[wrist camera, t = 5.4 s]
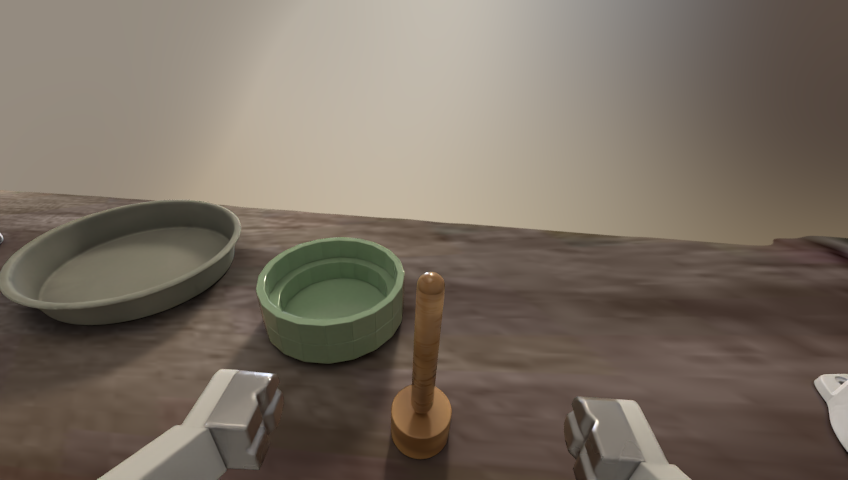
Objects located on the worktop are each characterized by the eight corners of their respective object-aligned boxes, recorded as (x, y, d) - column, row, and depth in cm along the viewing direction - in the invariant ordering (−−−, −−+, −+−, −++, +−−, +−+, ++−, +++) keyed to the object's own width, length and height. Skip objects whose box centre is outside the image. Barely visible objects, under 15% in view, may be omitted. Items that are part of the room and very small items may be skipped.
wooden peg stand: (438, 398, 34) (456, 249, 26) (456, 451, 30) (484, 294, 22) (386, 410, 33) (385, 256, 24) (397, 466, 29) (401, 306, 20)
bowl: (389, 268, 52) (389, 232, 48) (416, 353, 39) (419, 311, 36) (272, 282, 48) (264, 243, 45) (259, 381, 35) (246, 337, 32)
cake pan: (-16, 283, 45) (-38, 253, 42) (185, 210, 63) (177, 186, 61) (76, 376, 34) (53, 342, 32) (284, 256, 53) (279, 229, 50)
